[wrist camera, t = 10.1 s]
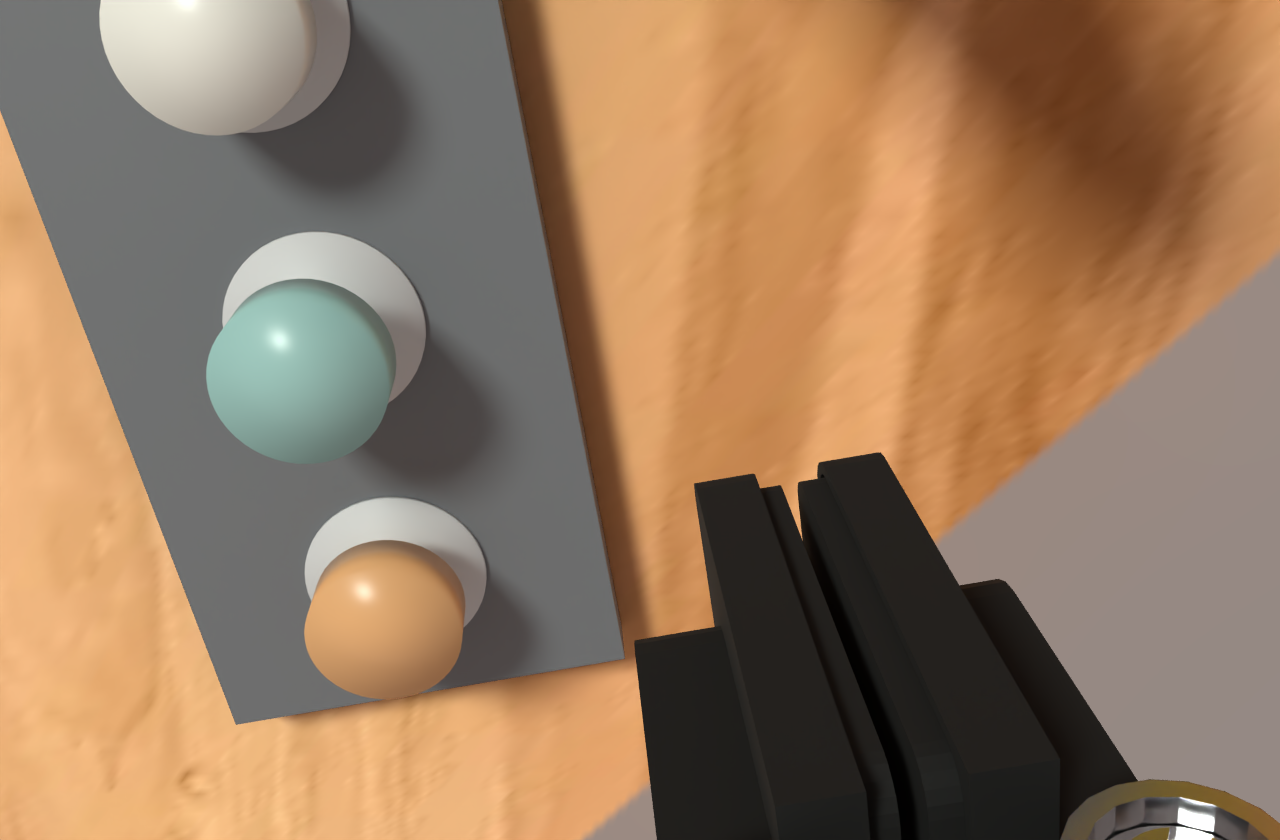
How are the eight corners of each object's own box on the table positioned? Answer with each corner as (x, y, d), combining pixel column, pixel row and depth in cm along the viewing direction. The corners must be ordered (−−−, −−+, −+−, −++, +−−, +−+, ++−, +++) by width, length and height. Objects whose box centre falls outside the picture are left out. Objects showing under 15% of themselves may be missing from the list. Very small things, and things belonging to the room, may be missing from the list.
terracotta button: (449, 512, 38) (443, 558, 35) (481, 633, 40) (476, 685, 37) (302, 537, 37) (285, 585, 35) (341, 657, 40) (327, 710, 37)
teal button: (377, 254, 33) (363, 286, 30) (416, 406, 35) (407, 448, 32) (209, 282, 33) (182, 316, 30) (259, 433, 35) (237, 476, 32)
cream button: (295, -91, 30) (272, -88, 27) (343, 99, 32) (326, 118, 29) (109, -60, 30) (69, -53, 27) (170, 128, 32) (138, 149, 29)
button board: (458, -228, 31) (452, -234, 29) (621, 625, 43) (625, 662, 41) (-59, -141, 31) (-101, -142, 29) (248, 689, 43) (234, 728, 41)
